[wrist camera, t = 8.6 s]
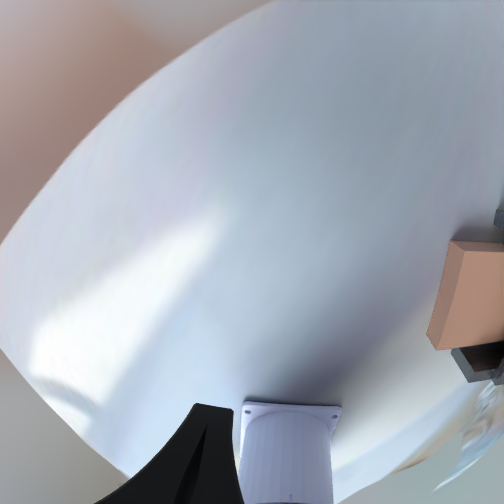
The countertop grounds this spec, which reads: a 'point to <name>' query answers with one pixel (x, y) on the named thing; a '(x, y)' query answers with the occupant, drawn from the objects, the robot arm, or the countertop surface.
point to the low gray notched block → (483, 350)
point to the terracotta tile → (469, 296)
